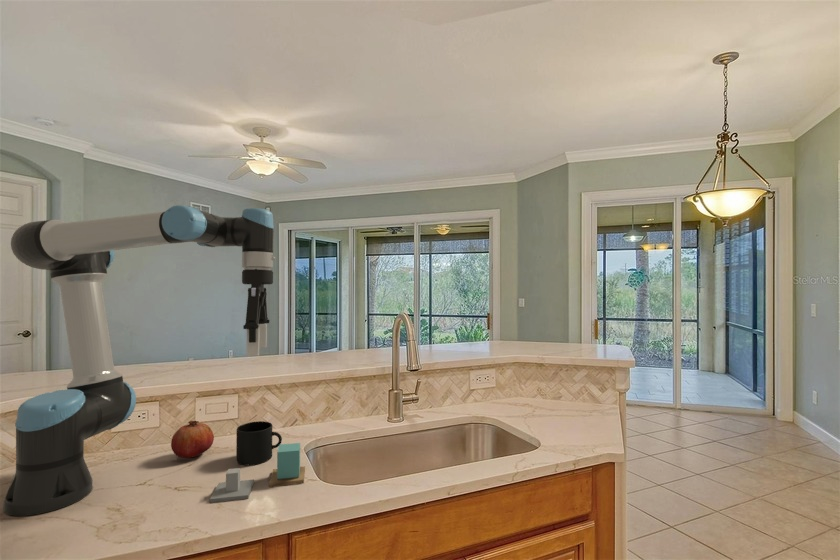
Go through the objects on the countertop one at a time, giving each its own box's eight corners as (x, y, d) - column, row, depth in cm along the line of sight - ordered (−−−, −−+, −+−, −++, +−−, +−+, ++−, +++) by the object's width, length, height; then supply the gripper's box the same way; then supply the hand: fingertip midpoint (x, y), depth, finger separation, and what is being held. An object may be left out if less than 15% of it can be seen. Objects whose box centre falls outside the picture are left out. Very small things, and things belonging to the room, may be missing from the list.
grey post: (210, 502, 94) (210, 480, 94) (218, 486, 102) (219, 465, 102) (248, 498, 96) (248, 476, 96) (253, 482, 104) (254, 462, 104)
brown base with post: (269, 486, 102) (269, 457, 102) (273, 472, 110) (273, 445, 110) (303, 483, 103) (303, 454, 104) (305, 469, 111) (305, 442, 111)
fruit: (215, 447, 126) (216, 414, 126) (210, 460, 117) (211, 424, 117) (175, 452, 123) (175, 418, 123) (167, 466, 113) (167, 428, 113)
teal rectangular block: (277, 479, 103) (277, 452, 104) (279, 470, 108) (279, 444, 109) (299, 477, 105) (299, 450, 105) (300, 468, 110) (300, 442, 110)
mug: (280, 462, 115) (280, 429, 116) (233, 467, 112) (233, 433, 113) (282, 449, 125) (282, 419, 125) (239, 453, 122) (239, 422, 122)
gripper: (266, 267, 97) (266, 359, 97) (278, 271, 121) (277, 344, 121) (231, 266, 95) (231, 360, 95) (250, 270, 120) (250, 345, 119)
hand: (257, 351), depth 108 cm, fingers open, 13 cm apart
